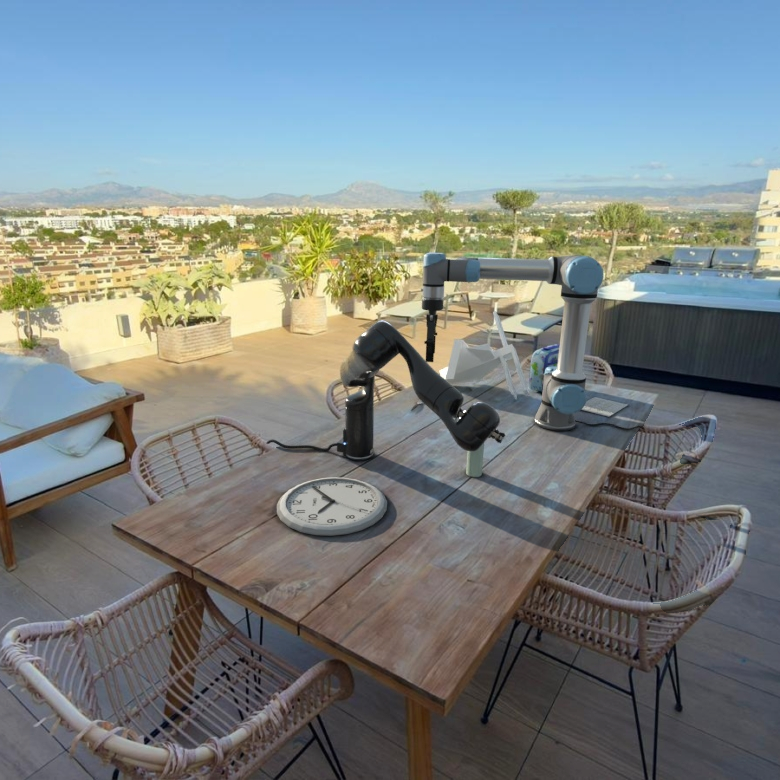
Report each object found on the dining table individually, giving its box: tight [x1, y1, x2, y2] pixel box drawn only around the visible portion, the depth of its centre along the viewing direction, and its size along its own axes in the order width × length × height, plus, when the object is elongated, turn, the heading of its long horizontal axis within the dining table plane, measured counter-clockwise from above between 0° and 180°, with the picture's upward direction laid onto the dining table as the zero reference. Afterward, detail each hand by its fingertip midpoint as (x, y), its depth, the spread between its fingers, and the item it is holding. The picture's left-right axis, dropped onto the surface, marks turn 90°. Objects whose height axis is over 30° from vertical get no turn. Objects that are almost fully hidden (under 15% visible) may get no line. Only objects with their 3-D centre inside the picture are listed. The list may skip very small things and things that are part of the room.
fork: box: [410, 399, 424, 412], centre depth 222 cm, size 3×16×2 cm, turn 160°
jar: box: [465, 442, 485, 478], centre depth 160 cm, size 5×5×15 cm
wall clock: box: [276, 476, 388, 537], centre depth 142 cm, size 30×2×30 cm
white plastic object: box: [438, 310, 531, 400], centre depth 245 cm, size 37×45×31 cm
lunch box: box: [528, 344, 560, 393], centre depth 247 cm, size 26×11×21 cm, turn 134°
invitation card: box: [580, 396, 629, 418], centre depth 226 cm, size 21×1×15 cm
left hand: (479, 424), depth 141 cm, fingers open, 8 cm apart
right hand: (430, 357), depth 190 cm, fingers open, 13 cm apart
